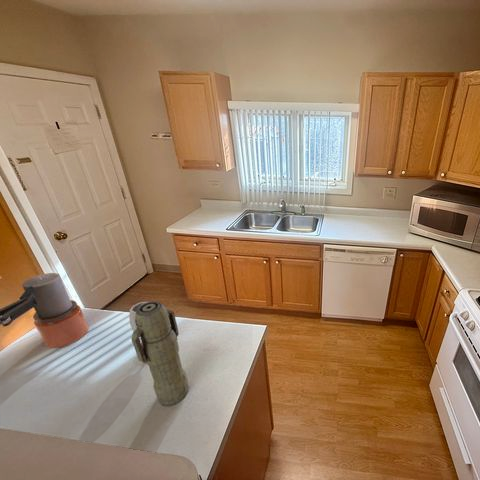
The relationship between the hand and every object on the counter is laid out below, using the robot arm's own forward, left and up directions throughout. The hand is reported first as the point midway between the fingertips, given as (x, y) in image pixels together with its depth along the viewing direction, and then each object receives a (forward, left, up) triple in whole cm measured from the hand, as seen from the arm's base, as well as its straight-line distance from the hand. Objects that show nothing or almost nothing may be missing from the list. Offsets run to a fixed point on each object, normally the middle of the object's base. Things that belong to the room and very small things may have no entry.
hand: (1, 295), depth 78 cm
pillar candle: (+1, +14, -17) cm, 22 cm away
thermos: (+48, -21, -30) cm, 61 cm away
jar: (0, +14, -30) cm, 33 cm away
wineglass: (+36, -1, -30) cm, 47 cm away
